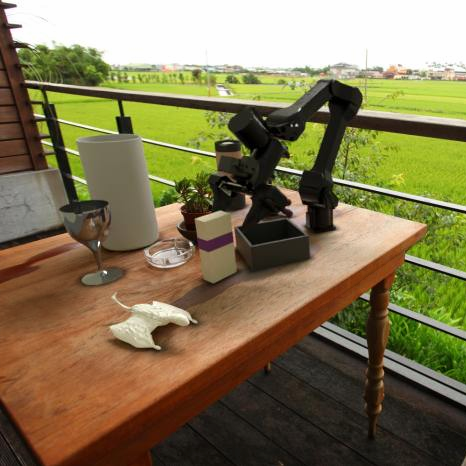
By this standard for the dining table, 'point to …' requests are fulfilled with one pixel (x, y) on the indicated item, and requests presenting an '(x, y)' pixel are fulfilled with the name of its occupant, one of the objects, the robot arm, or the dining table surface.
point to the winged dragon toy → (147, 322)
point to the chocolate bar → (216, 245)
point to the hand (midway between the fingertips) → (226, 226)
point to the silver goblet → (90, 233)
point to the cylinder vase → (121, 187)
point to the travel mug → (232, 150)
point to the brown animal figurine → (286, 211)
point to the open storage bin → (272, 243)
